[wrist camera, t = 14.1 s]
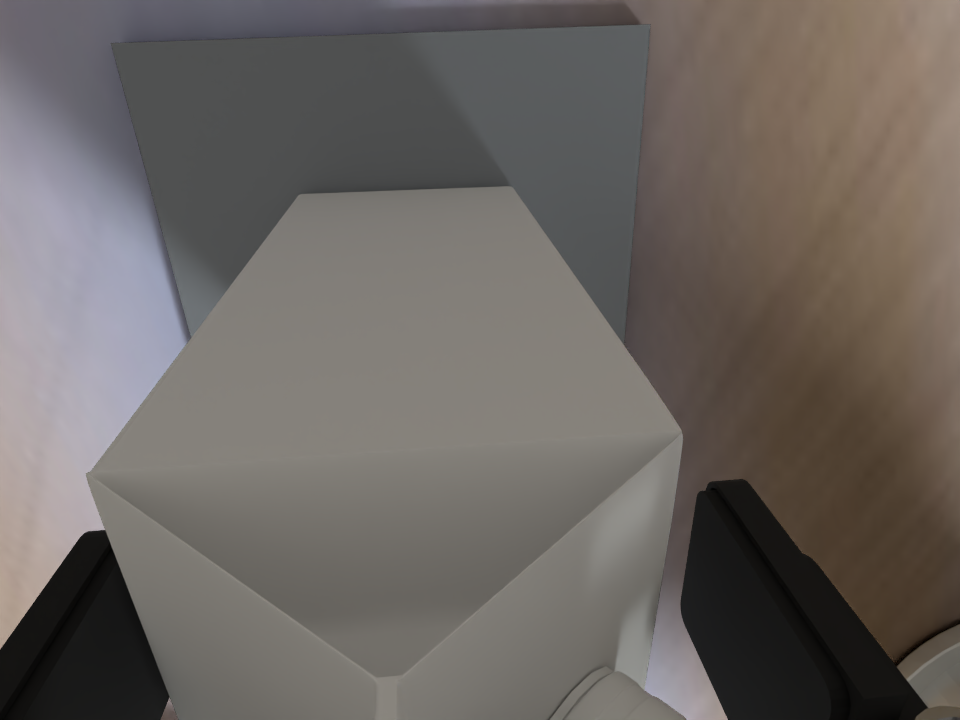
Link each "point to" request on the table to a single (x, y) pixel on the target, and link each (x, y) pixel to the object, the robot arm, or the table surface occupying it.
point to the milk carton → (399, 479)
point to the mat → (390, 137)
